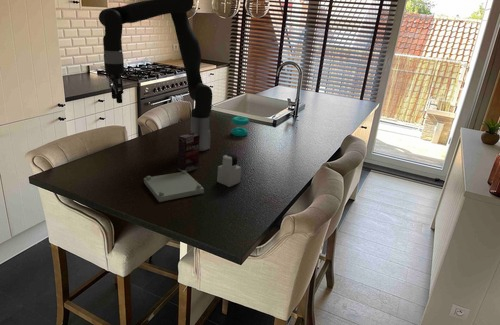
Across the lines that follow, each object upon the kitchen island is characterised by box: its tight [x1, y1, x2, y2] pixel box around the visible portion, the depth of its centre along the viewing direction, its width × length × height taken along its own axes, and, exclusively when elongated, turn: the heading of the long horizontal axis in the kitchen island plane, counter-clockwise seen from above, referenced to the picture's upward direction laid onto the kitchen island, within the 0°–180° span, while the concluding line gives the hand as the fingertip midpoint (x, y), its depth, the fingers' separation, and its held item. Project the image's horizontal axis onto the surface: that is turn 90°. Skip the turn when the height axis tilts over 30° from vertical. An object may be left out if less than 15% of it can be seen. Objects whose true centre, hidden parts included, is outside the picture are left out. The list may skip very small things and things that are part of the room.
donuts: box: [230, 116, 250, 138], centre depth 214 cm, size 10×10×10 cm
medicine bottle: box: [216, 153, 242, 188], centre depth 151 cm, size 7×7×12 cm
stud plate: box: [143, 170, 205, 203], centre depth 144 cm, size 18×18×3 cm
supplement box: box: [177, 132, 200, 173], centre depth 160 cm, size 9×5×16 cm, turn 143°
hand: (117, 100), depth 155 cm, fingers open, 8 cm apart
